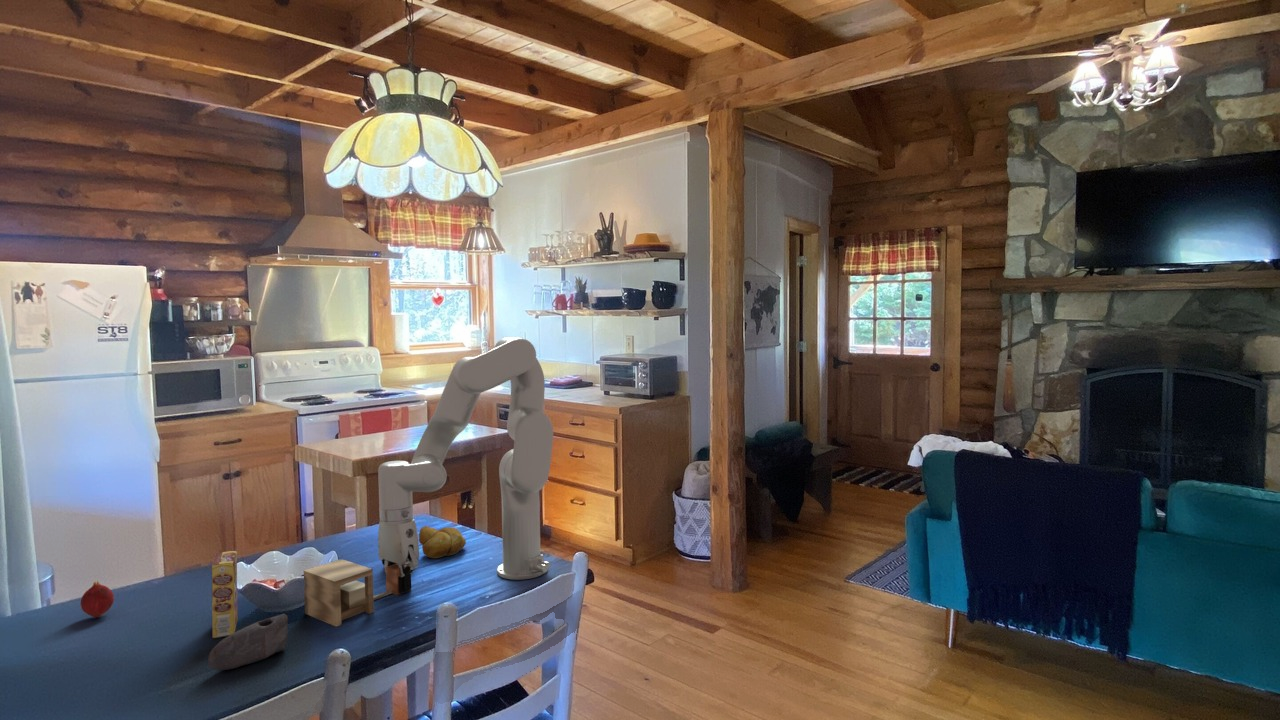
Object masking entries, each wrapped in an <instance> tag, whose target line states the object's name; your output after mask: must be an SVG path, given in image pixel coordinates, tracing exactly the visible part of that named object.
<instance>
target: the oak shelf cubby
mask: <svg viewBox="0 0 1280 720" xmlns="http://www.w3.org/2000/svg"><path fill="white" fill-rule="evenodd" d="M373 573H374V572H373V568H370V567H367V566H364V565H361V564H358V563H355V562H352V561H349V560H346V559H342V558H341V559H337V560H334V561H330V562H327V563H324V564H321V565H317V566H314V567H311V568H307V569H304V570H303V581H304V580H305V581H306V582H305V588H304V587H303V589H304V590H303V591H304V594H303V595H304V614H305V615H308V616H310V617H312V618H315V619H317V620H319V621H322V622H325V623H326V624H329V625H331V626H333V627H339V626H342V621H344V620H346V619H349V618H351V617H354V616H357V615H359V614H362V613H364V612H365V613H366V614H367V615H370V614H373V613H374V612H375V605H374V602H375V600H373V596H374V579H373V578H374V574H373ZM363 578H364V583H365V603H364V604H361V605H359V606H356V607H353V608H351V609H348V610H345V611H341V598H340V586H341V585H344V584H347V583H350V582H353V581H358V580H360V579H363Z"/></svg>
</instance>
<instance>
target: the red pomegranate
mask: <svg viewBox="0 0 1280 720" xmlns="http://www.w3.org/2000/svg"><path fill="white" fill-rule="evenodd" d="M92 584H93V585H92V586H91V587H90V588H89V589H87V590H86V591H85V592H84V593H83V595H82V597H81V599H80V607H81V610H82V611H83V612H84V614H87V615H89V616H90V617H94V618H96V617H98V618H100V617H102V616H103V615H104V614H106V613H107V612H108V611H109V610H110V608H112V606H113V604H114V601H115V595H114V593H113V591H112V590H111V588H110V587H108V586H106V585H103V584H101V583H100V582H99V581H97V580H95V581H94V582H93V583H92ZM101 615H102V616H101ZM99 616H100V617H99Z"/></svg>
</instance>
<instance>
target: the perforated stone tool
mask: <svg viewBox="0 0 1280 720" xmlns="http://www.w3.org/2000/svg"><path fill="white" fill-rule="evenodd" d="M288 623H289V616H288V615H286V613H281V614H277V615H275V616H272V617H268V618H265V619H263V620H258V621H256V622H254V623H251V624H250V625H248V626H245V627H243V628H241V629H238V630H237V631H235V633H233V634H231V635H230V636H225V637H224V638H223V639H221V641H219V642H218V643H217V644H216V645H215V646H214V647H213V648H212V650H211V651H210V652H209V655H208V660H207V661H208V665H209V667H211V668H212V669H213V670H217V671H227V670H234V669H237V668H239V667H242V666H247V665H250V664H253V663H257V662H259V661H262V660H265V659H267V658H269V657H270V656H272V655H274V654H276V653H279V652H282V651H284V650H286V645H287V639H288V627H289V625H288Z"/></svg>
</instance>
